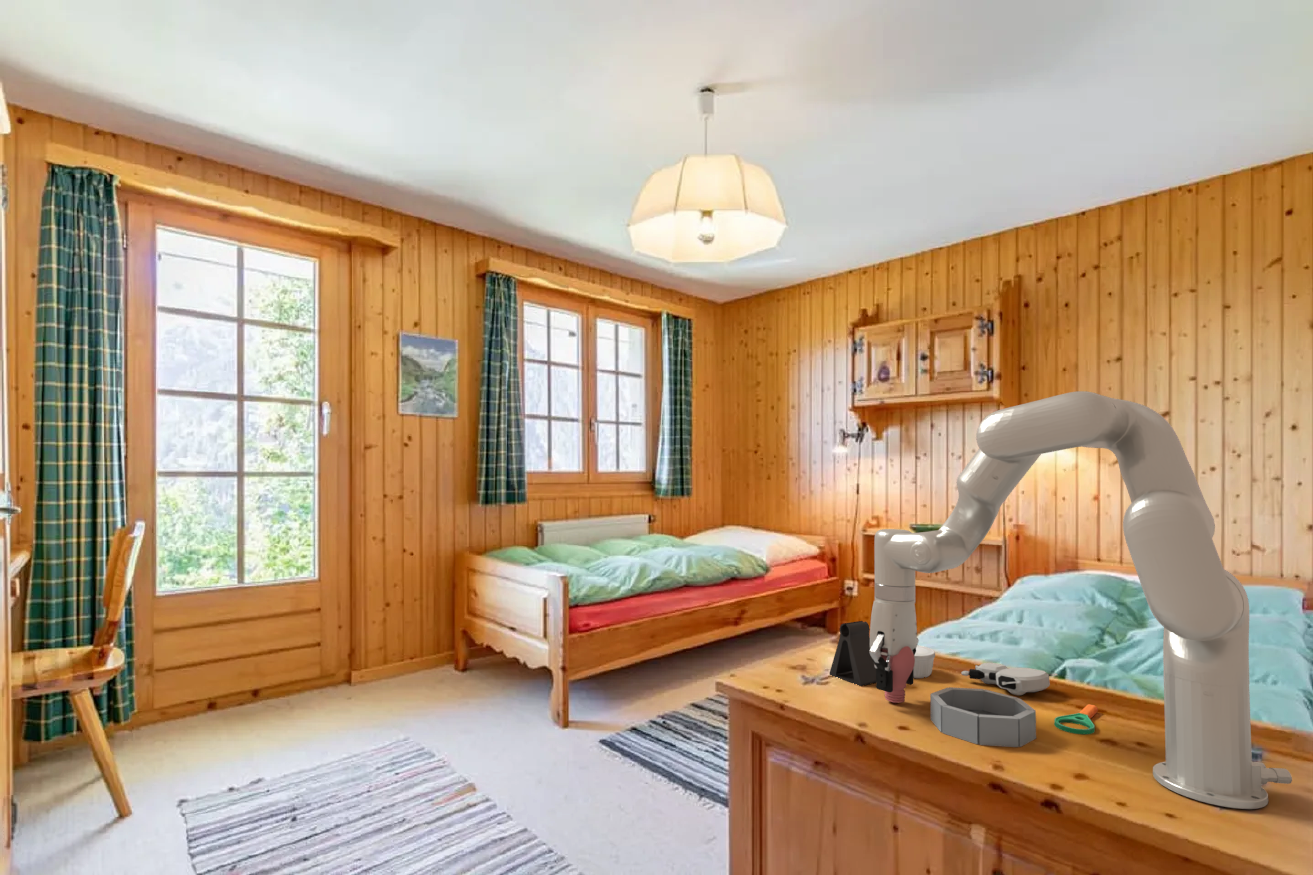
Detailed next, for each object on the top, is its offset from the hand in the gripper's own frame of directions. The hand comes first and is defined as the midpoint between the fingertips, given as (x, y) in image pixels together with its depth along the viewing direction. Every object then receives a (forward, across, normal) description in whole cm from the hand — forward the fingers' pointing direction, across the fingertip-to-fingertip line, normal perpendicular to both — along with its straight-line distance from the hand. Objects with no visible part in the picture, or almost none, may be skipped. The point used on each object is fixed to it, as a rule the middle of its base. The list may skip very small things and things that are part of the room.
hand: (895, 685), depth 129 cm
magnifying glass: (+4, -18, +26) cm, 32 cm away
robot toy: (+4, -28, +10) cm, 30 cm away
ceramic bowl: (+3, 0, +16) cm, 17 cm away
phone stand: (+4, -8, -14) cm, 16 cm away
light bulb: (+4, 0, 0) cm, 4 cm away
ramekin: (+4, -22, -9) cm, 24 cm away
